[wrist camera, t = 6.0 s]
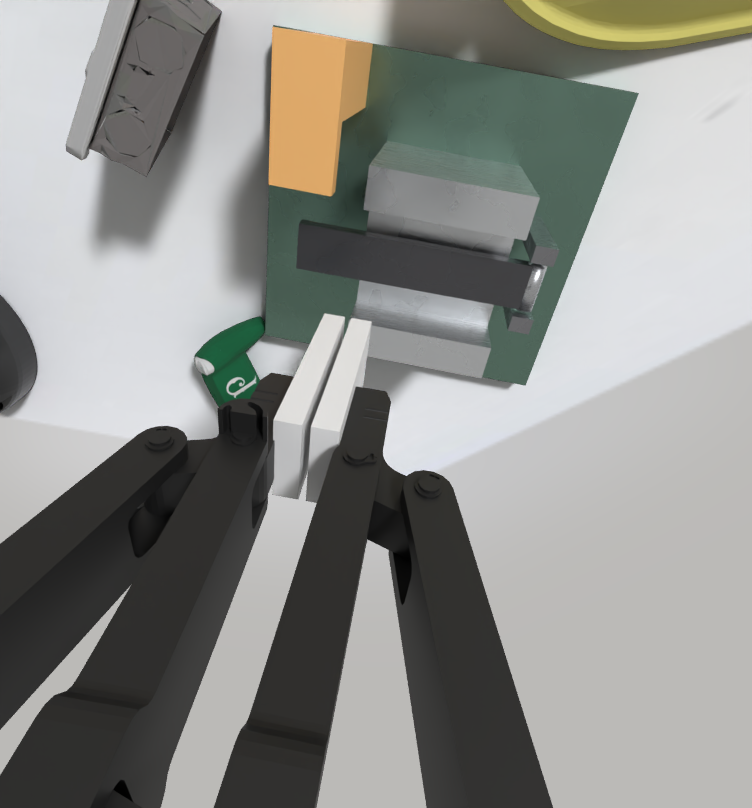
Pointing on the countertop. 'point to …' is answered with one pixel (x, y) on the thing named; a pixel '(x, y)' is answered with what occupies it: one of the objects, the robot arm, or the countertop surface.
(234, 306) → the countertop surface
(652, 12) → the plastic component
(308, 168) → the block
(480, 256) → the strap
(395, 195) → the green mounting baseplate
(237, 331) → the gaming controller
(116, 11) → the electrical switch
